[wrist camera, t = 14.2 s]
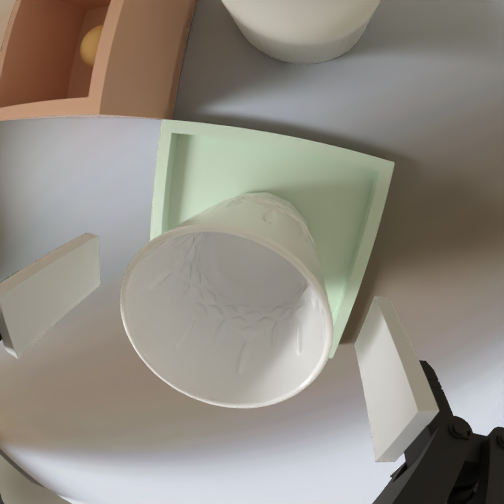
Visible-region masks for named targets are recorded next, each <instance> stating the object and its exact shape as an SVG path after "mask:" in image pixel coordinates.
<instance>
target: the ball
mask: <svg viewBox="0 0 504 504" xmlns="http://www.w3.org/2000/svg"><path fill="white" fill-rule="evenodd" d="M102 29H103V25H100V26H97V27H95V28H93V29H92V30H90V31H89V32H88V33H87V34H86V35H85V37H84V38H83V40H82V42H81V46H80V55H81V58H82V60H83V61H84V62H85V63H86V64H87V65H88V66H90V67H94V63H95V58H96V53H97V49H98V45H99V41H100V37H101V33H102Z"/></svg>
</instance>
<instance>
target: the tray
mask: <svg viewBox="0 0 504 504" xmlns="http://www.w3.org/2000/svg"><path fill="white" fill-rule="evenodd" d="M394 164H395V162H391V161H388V160H385V159H381V158H378V157H374V156H371V155H367V154H364V153H360V152H356V151H352V150H348V149H345V148H341V147H336V146H332V145H328V144H324V143H319V142H315V141H310V140H306V139H301V138H296V137H291V136H286V135H281V134H275V133H270V132H264V131H258V130H252V129H245V128H239V127H231V126H224V125H216V124H208V123H199V122H189V121H178V120H165V119H162V122H161V129H160V136H159V144H158V152H157V160H156V170H155V180H154V191H153V203H152V217H151V234H150V241H151V240H153V239H154V238H156V237H158V236H159V235H161V234H163V233H165V232H166V231H168V230H170V229H172V228H173V227H175V226H177V225H178V224H180V223H182V222H184V221H186V220H188V219H189V218H191V217H193V216H194V215H196V214H198V213H199V212H201V211H203V210H205V209H207V208H210V207H212V206H214V205H216V204H218V203H220V202H222V201H225V200H228V199H231V198H234V197H236V196H238V195H240V194H242V193H257V192H268V193H271V194H273V195H275V196H278V197H280V198H282V199H285V200H287V201H289V202H291V203H292V205H293V206H294V207H295V208H296V209H297V210H298V211H299V213H300V214H301V215H302V216H303V217H304V218H305V220H306V221H307V224H308V228H309V232H310V234H311V235H312V238H313V240H314V243H315V246H316V249H317V252H318V256H319V259H320V262H321V266H322V271H323V276H324V281H325V286H326V289H327V294H328V299H329V303H330V308H331V313H332V318H333V328H334V333H333V343H332V348H331V352H330V355H329V357H328V358H333V355H334V353H335V351H336V348H337V346H338V343H339V341H340V339H341V336H342V334H343V331H344V328H345V326H346V323H347V321H348V318H349V315H350V313H351V310H352V307H353V305H354V302H355V299H356V296H357V293H358V291H359V288H360V285H361V282H362V279H363V276H364V273H365V270H366V267H367V264H368V261H369V258H370V254H371V251H372V248H373V245H374V241H375V238H376V235H377V231H378V228H379V224H380V221H381V217H382V213H383V210H384V206H385V202H386V198H387V194H388V190H389V186H390V182H391V178H392V173H393V169H394Z"/></svg>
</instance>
